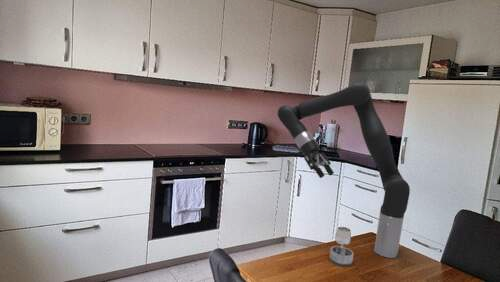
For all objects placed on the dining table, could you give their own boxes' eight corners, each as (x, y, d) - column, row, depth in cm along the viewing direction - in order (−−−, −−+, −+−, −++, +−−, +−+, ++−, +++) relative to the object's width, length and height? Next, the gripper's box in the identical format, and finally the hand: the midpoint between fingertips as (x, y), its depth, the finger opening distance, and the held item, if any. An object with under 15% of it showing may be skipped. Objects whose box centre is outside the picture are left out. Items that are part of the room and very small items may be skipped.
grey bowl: (331, 253, 138) (333, 244, 138) (353, 259, 135) (354, 250, 134) (327, 262, 130) (328, 252, 130) (350, 268, 127) (351, 258, 126)
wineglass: (348, 263, 129) (352, 233, 127) (332, 260, 130) (336, 230, 129) (347, 256, 135) (351, 227, 133) (332, 253, 136) (336, 225, 134)
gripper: (304, 139, 139) (326, 172, 134) (320, 138, 150) (341, 169, 145) (292, 149, 143) (312, 182, 138) (308, 148, 154) (328, 178, 149)
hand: (327, 175), depth 141 cm, fingers open, 8 cm apart
